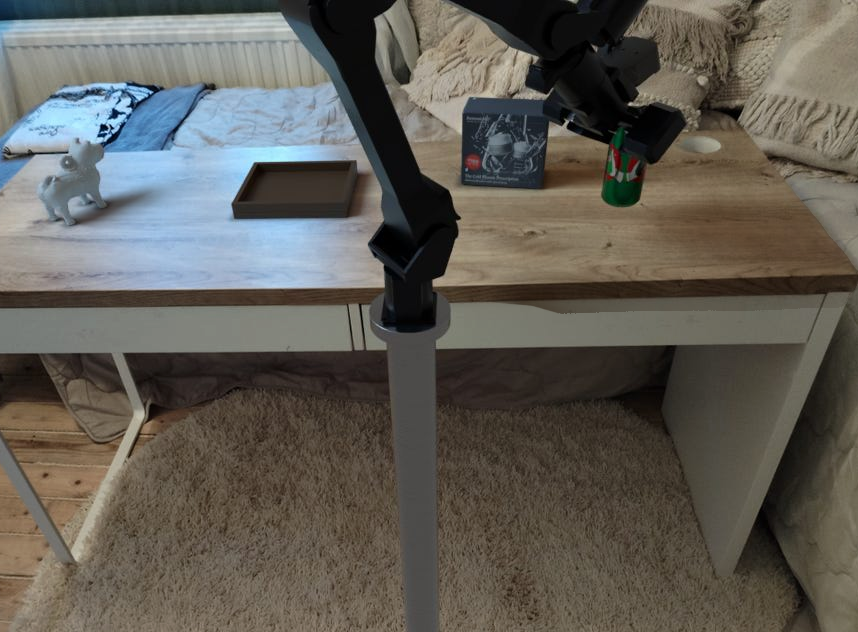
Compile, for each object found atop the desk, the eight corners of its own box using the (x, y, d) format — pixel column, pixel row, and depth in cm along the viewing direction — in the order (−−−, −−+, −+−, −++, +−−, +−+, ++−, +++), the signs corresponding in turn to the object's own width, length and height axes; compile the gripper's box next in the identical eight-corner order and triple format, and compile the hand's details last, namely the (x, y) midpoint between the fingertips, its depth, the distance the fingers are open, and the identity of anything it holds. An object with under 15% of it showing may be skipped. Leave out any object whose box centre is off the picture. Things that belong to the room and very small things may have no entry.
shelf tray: (346, 217, 108) (344, 202, 106) (234, 218, 109) (231, 203, 108) (357, 174, 120) (356, 160, 118) (256, 175, 121) (254, 162, 120)
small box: (459, 185, 114) (460, 111, 106) (465, 168, 119) (467, 96, 112) (542, 190, 111) (549, 114, 104) (545, 171, 116) (552, 98, 109)
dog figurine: (125, 195, 118) (106, 133, 112) (66, 229, 110) (42, 164, 103) (102, 190, 120) (82, 129, 114) (43, 223, 112) (17, 158, 105)
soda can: (641, 195, 96) (658, 106, 88) (637, 211, 92) (654, 120, 85) (603, 190, 97) (617, 102, 90) (597, 206, 94) (611, 116, 86)
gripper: (694, 34, 72) (739, 118, 83) (570, 3, 85) (622, 79, 96) (624, 127, 74) (677, 197, 85) (513, 83, 87) (571, 148, 98)
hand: (635, 151), depth 91 cm, fingers closed on soda can, 5 cm apart
